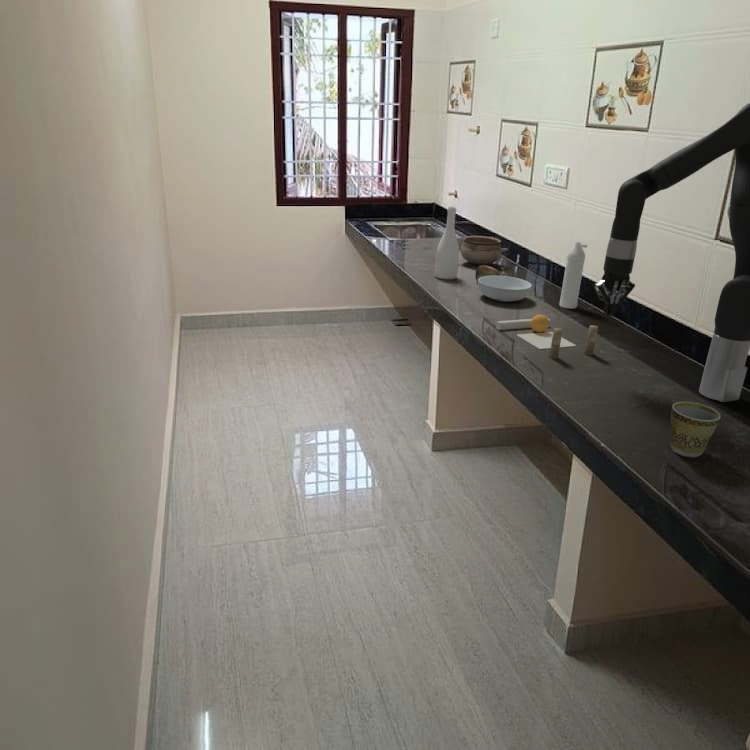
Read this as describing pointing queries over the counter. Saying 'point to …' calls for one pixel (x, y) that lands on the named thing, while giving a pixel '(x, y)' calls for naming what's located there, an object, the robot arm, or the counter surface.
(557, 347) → the post left
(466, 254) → the cooking pot
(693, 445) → the ceramic cup
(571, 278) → the white pump bottle
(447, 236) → the wine bottle
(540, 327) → the ball
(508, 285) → the serving bowl
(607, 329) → the counter surface
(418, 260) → the counter surface
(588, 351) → the post right
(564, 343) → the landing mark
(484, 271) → the tin
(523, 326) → the wall
